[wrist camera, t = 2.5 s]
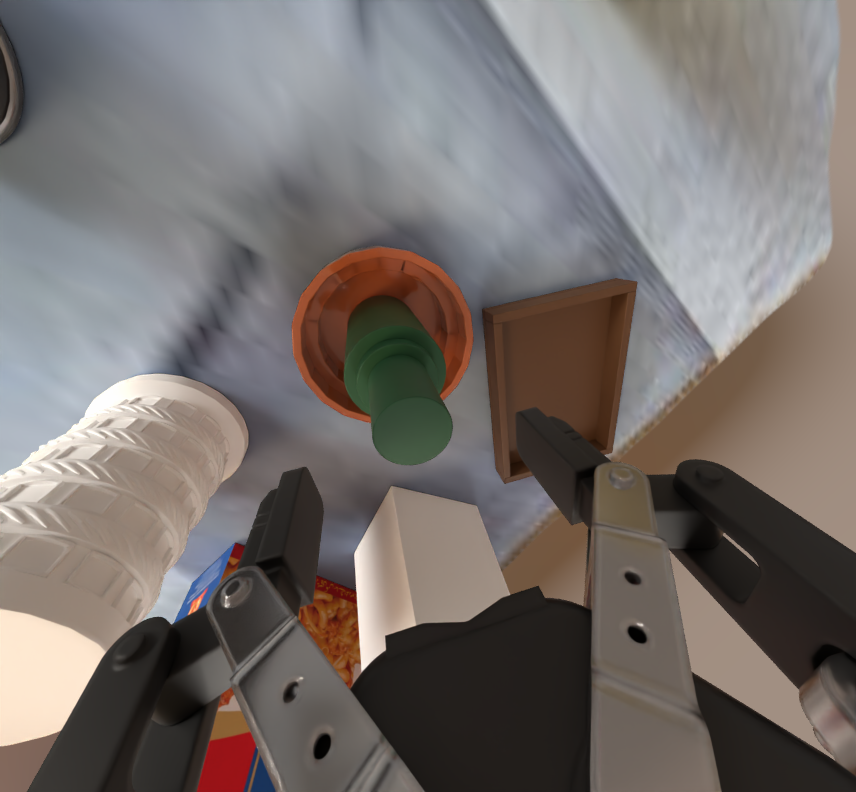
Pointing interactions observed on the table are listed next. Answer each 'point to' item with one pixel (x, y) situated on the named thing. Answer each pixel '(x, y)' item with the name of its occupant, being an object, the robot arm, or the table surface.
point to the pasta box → (231, 738)
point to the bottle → (397, 380)
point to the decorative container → (101, 535)
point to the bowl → (363, 278)
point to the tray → (558, 364)
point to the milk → (422, 567)
